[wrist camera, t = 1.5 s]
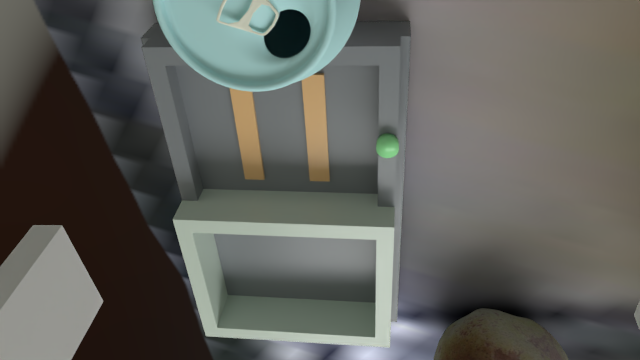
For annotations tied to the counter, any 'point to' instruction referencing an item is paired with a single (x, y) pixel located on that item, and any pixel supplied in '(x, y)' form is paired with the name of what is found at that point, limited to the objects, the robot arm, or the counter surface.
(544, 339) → the fruit
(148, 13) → the counter surface
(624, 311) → the counter surface
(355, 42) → the grey tray
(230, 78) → the can
